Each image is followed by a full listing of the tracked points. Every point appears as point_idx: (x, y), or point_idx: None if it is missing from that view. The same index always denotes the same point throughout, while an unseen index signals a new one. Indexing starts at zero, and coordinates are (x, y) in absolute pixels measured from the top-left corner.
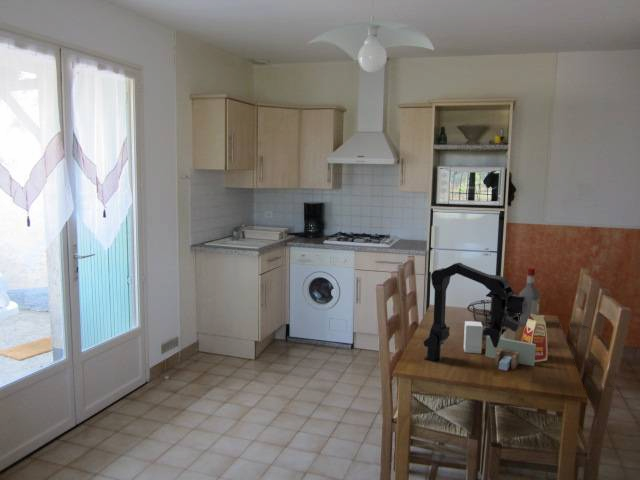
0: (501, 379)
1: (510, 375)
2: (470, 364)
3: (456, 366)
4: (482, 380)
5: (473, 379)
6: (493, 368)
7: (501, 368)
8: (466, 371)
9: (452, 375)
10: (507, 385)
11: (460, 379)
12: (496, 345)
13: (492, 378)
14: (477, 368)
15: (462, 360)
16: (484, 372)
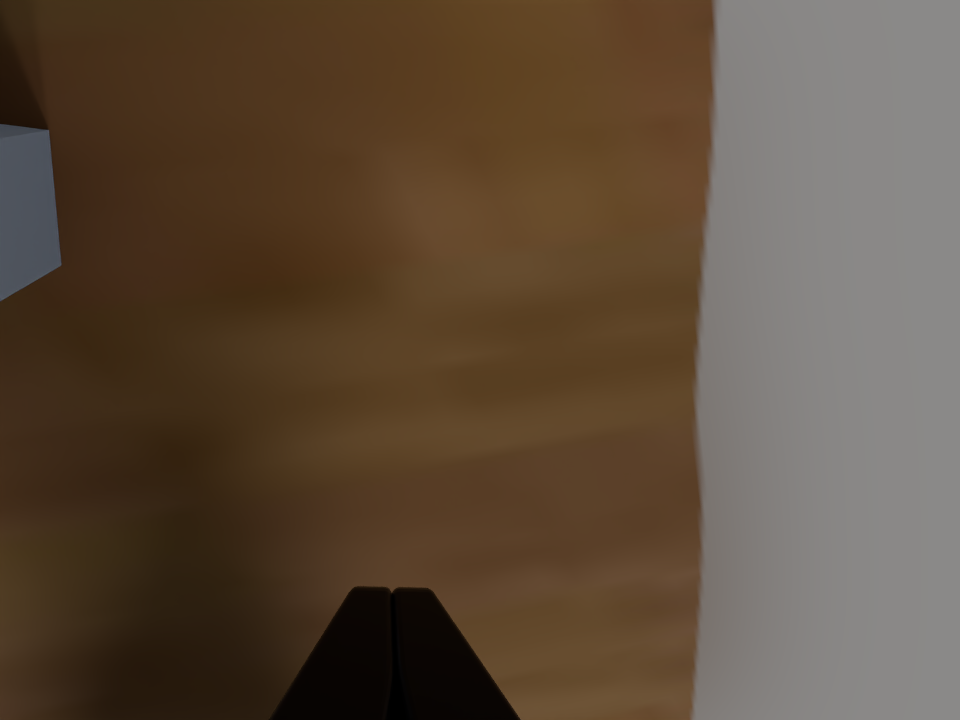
0: (494, 169)
1: (244, 43)
2: (151, 618)
3: None
4: (633, 396)
5: (640, 489)
6: (96, 340)
7: (47, 225)
8: None
9: (609, 679)
10: (694, 54)
11: (690, 596)
12: (470, 664)
13: (512, 294)
14: (243, 523)
15: (72, 716)
16: (341, 423)
